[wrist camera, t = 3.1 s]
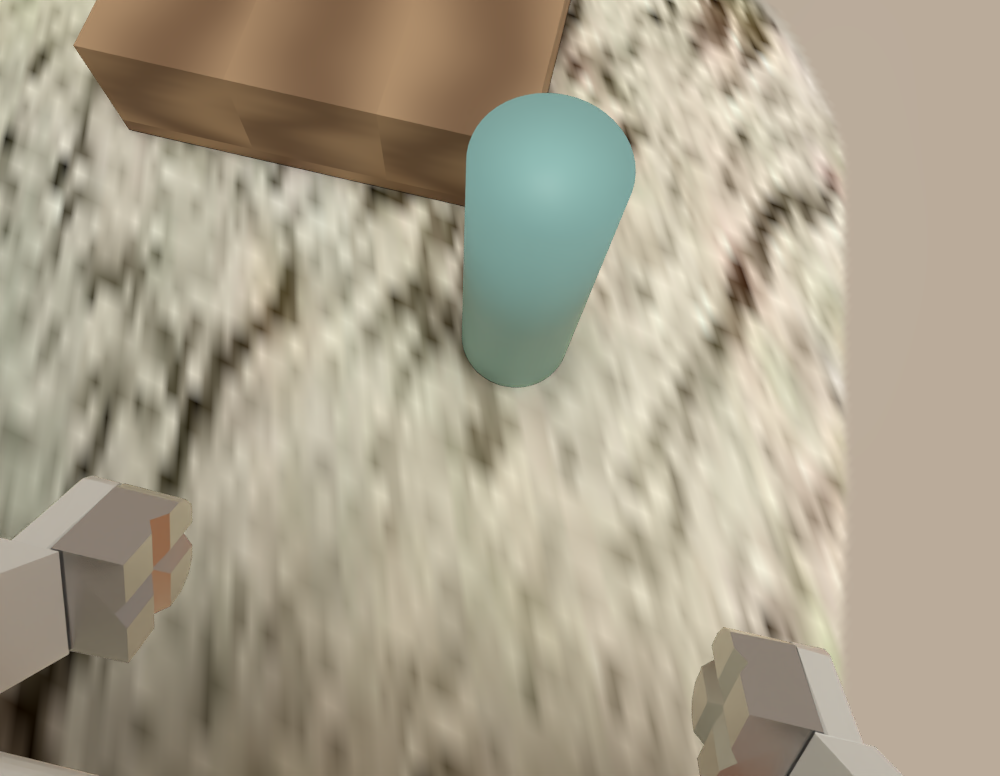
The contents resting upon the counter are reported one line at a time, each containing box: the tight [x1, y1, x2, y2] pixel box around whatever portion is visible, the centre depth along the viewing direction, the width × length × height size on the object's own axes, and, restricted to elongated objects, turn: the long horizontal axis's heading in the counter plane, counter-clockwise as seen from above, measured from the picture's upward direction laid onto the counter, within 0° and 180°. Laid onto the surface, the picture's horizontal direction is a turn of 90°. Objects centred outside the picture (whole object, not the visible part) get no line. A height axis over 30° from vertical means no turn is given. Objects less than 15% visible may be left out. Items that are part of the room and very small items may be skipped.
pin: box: [462, 93, 635, 387], centre depth 22 cm, size 4×4×11 cm
